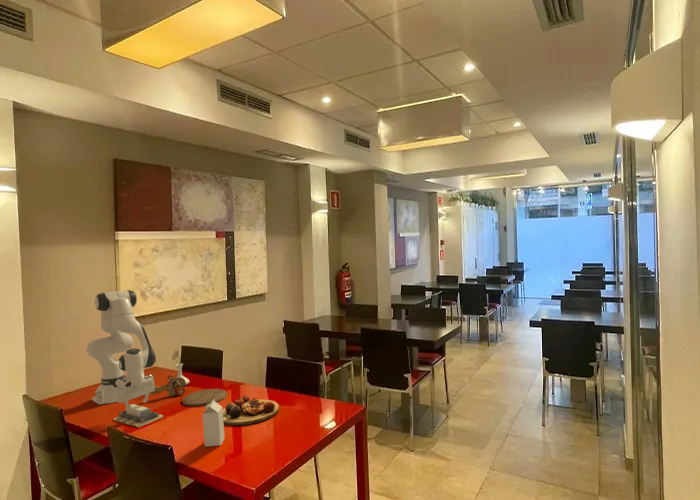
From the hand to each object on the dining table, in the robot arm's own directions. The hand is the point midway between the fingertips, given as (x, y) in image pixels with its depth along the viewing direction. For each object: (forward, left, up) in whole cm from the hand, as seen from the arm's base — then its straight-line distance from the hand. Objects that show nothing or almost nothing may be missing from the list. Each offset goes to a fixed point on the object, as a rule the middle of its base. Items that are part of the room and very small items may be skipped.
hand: (137, 404), depth 231 cm
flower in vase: (-26, +46, -8) cm, 54 cm away
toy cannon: (-15, +30, -8) cm, 34 cm away
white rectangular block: (+1, 0, -6) cm, 6 cm away
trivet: (+10, +36, -8) cm, 38 cm away
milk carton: (+64, -2, -8) cm, 64 cm away
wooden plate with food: (+53, +30, -8) cm, 61 cm away
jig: (+1, 0, -7) cm, 7 cm away
